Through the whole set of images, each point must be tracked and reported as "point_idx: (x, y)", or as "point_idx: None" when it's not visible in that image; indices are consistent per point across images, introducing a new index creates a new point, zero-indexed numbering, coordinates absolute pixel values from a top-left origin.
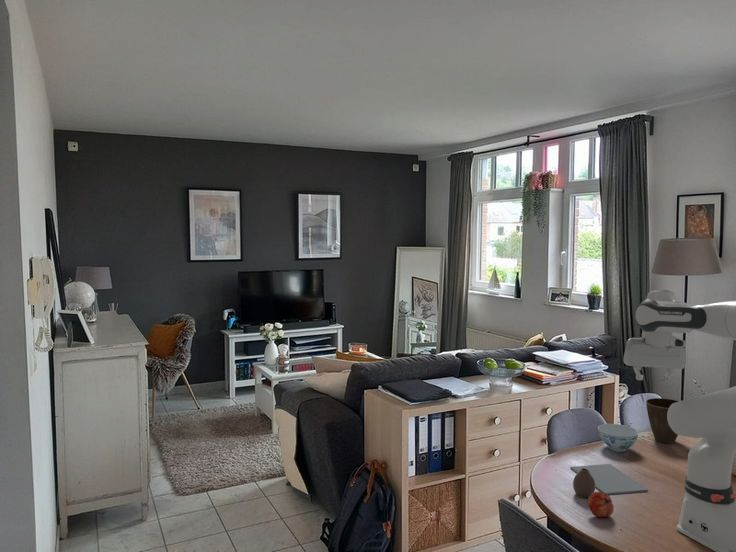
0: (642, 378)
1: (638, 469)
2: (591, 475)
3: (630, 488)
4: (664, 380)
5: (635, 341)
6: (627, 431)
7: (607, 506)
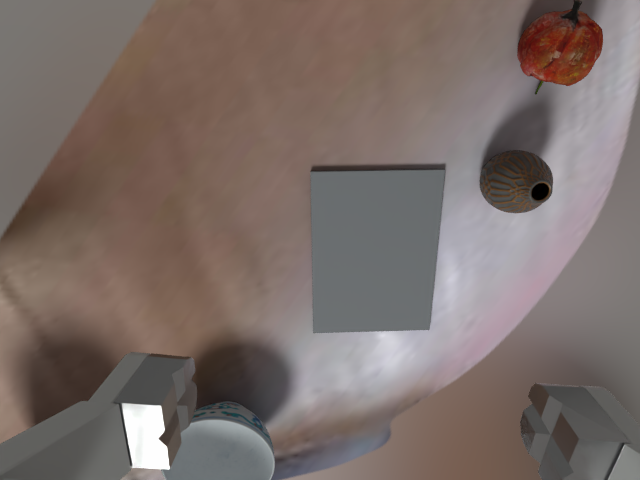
0: (559, 396)
1: (250, 299)
2: (511, 181)
3: (355, 186)
4: (188, 378)
5: None
6: (177, 468)
7: (567, 12)
